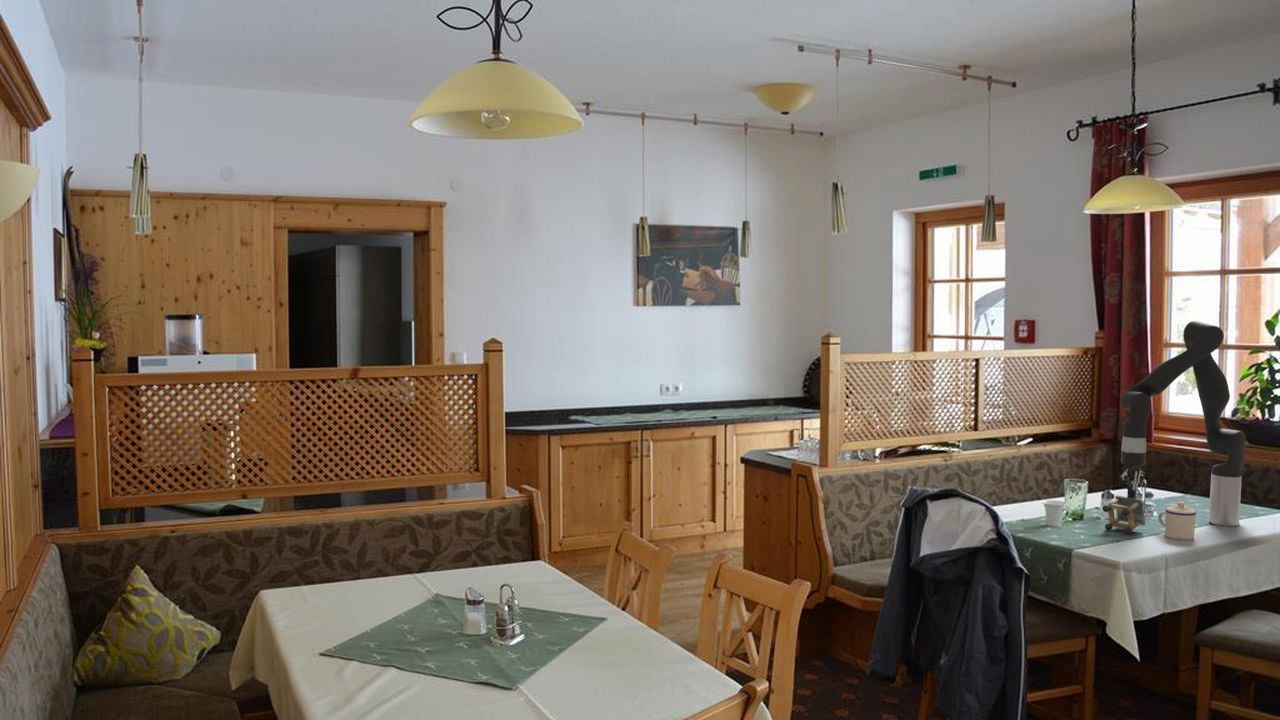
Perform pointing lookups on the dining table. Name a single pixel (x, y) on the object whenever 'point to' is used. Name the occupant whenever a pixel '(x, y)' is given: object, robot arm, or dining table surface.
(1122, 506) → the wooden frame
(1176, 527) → the teacup with lid
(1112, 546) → the dining table surface
